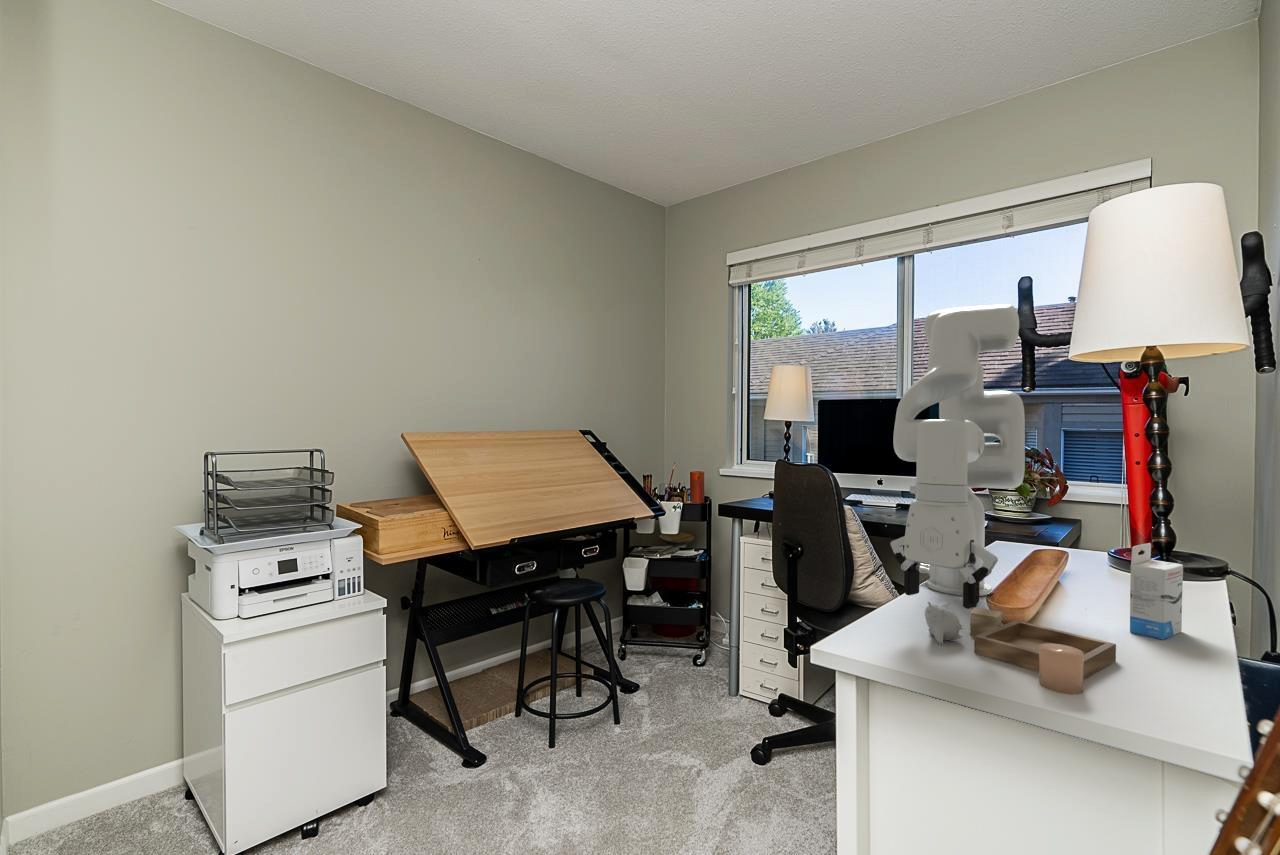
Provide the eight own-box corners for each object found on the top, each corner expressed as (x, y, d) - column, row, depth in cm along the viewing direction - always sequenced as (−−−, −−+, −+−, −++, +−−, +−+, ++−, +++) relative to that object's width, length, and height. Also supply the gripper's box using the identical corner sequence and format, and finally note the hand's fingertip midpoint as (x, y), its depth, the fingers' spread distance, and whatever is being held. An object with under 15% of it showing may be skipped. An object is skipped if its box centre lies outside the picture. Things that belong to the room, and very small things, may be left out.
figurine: (963, 655, 100) (938, 627, 98) (928, 654, 105) (903, 627, 102) (968, 611, 105) (945, 583, 102) (934, 613, 109) (911, 586, 107)
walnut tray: (974, 652, 98) (974, 636, 98) (1016, 635, 106) (1016, 620, 106) (1078, 683, 86) (1078, 664, 86) (1115, 661, 95) (1115, 643, 95)
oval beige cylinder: (1032, 684, 86) (1032, 648, 86) (1048, 676, 89) (1048, 640, 89) (1074, 697, 82) (1074, 659, 82) (1089, 688, 85) (1089, 651, 85)
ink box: (1164, 640, 104) (1165, 551, 104) (1128, 632, 108) (1129, 546, 108) (1183, 631, 109) (1184, 546, 109) (1148, 624, 113) (1148, 541, 113)
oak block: (970, 636, 106) (970, 612, 106) (975, 630, 109) (975, 607, 109) (997, 641, 103) (997, 617, 103) (1001, 635, 106) (1001, 611, 106)
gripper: (880, 491, 108) (878, 592, 107) (984, 500, 94) (983, 616, 93) (905, 490, 112) (903, 587, 112) (1008, 498, 98) (1007, 609, 98)
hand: (940, 600), depth 103 cm, fingers open, 9 cm apart
